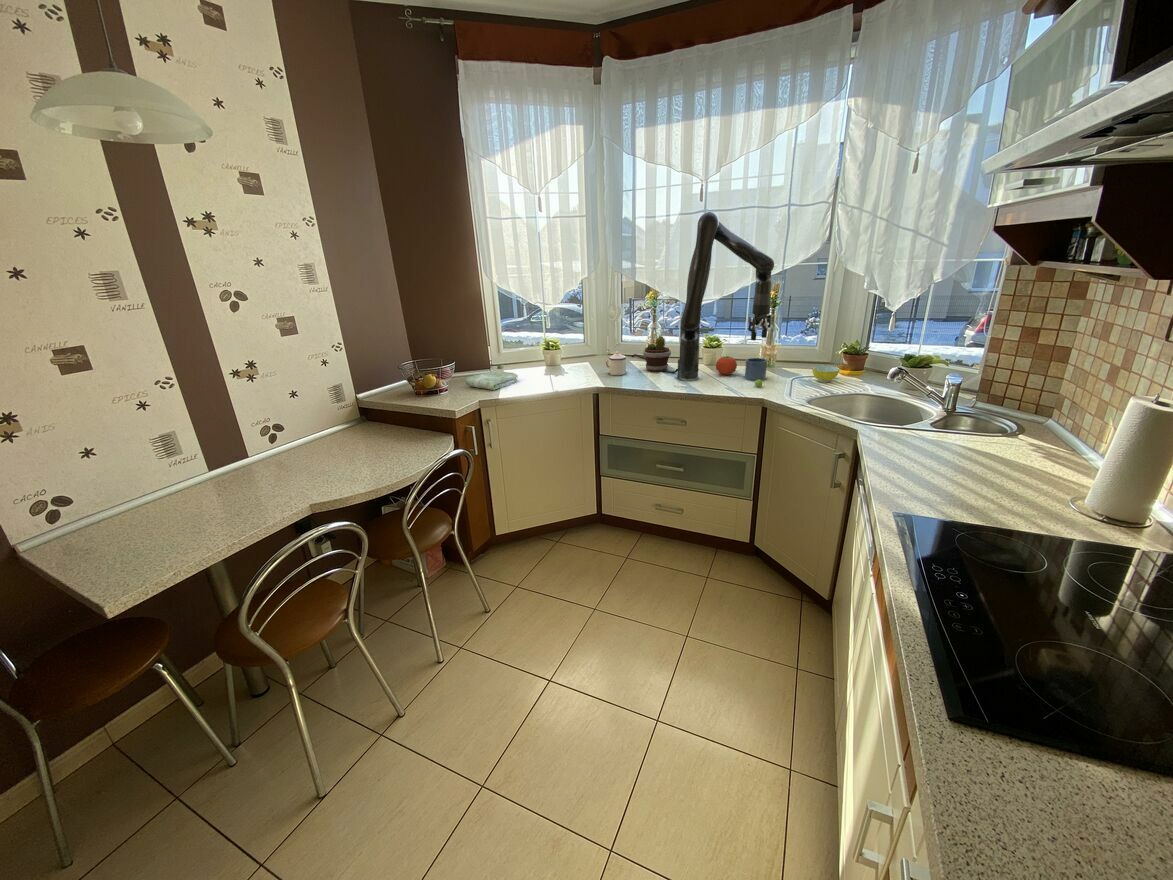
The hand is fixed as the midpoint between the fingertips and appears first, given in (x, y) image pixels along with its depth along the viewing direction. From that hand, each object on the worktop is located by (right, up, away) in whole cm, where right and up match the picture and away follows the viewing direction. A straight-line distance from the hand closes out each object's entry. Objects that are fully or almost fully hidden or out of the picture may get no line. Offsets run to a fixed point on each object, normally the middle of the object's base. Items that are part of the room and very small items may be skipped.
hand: (758, 338), depth 224 cm
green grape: (-2, -23, -6) cm, 24 cm away
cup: (+1, -17, +8) cm, 19 cm away
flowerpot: (-43, -10, +34) cm, 56 cm away
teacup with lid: (-65, -12, +31) cm, 74 cm away
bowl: (+30, -20, -2) cm, 36 cm away
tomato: (-10, -14, +18) cm, 25 cm away
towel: (-129, -19, +21) cm, 132 cm away
